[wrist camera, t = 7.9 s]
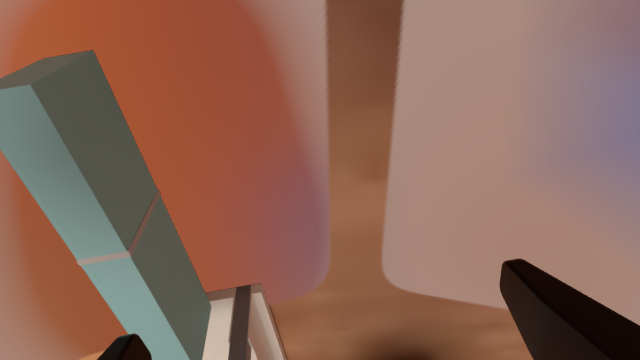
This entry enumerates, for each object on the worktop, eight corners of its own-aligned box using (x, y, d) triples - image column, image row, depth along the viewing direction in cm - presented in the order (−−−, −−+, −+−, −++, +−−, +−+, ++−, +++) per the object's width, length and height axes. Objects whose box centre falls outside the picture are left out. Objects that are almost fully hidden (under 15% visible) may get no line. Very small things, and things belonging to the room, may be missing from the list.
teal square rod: (212, 306, 23) (200, 375, 20) (179, 312, 23) (161, 382, 20) (94, 49, 15) (31, 84, 11) (42, 58, 15) (-39, 96, 11)
